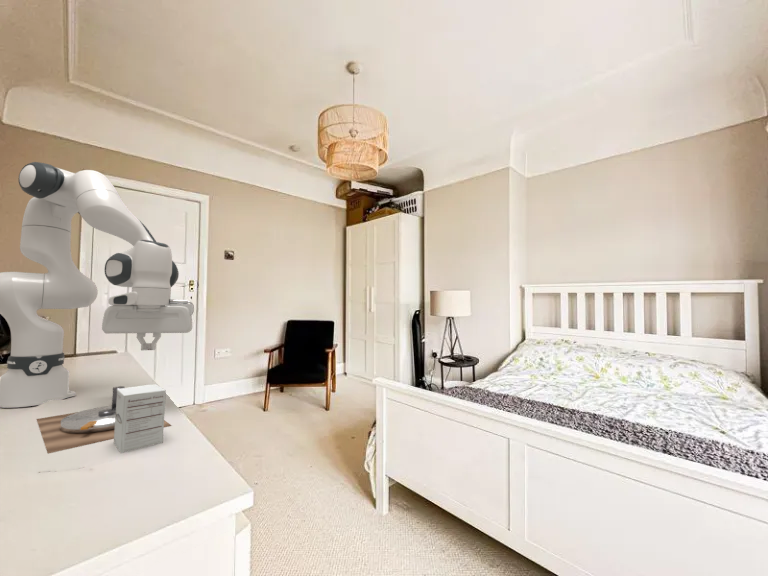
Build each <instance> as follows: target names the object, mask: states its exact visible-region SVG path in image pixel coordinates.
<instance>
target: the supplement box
mask: <svg viewBox="0 0 768 576" xmlns="http://www.w3.org/2000/svg"><path fill="white" fill-rule="evenodd" d="M166 393H167V391H166V389H165V388H163V387H162V386H160V385H158V384H156V383H154V384H153V383H152V384H145V385H138V386H137V385H136V386H129V387H125V388H121V389H117V401H116V416H115V430H114V439H113V444H114V446H115V447H116V449H117V450H118V452H119V453H120V454H122V453H126V452H132V451H135V450H139V449H142V448H143V449H144V448H148V447H152V446H156V445H159V444H163V443H164V429H165V427H164V420H165V414H166V413H165V411H166V410H165V409H166Z"/></svg>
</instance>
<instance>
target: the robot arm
mask: <svg viewBox="0 0 768 576" xmlns="http://www.w3.org/2000/svg"><path fill="white" fill-rule="evenodd" d="M18 184H19V187H20V189H21V190H22V191H23V192H24V193H26V194H27V195H30V196H31V197H32V198H30V199H29V200H28V202H27V205H26V206H25V209H24V213H23V218H22V222H21V223H22V224H21V231H20V243H19V244H20V245H19V250H20V253H21V254H22V256H24V257H25V258H26V259H29V261H32V262H35V263H37V264H39V265H42V266H43V267H44V268H46V270H47V272H45V273H43V272H42V273H41V272H39V273H38V272H26V271H25V272H22V271H4V272H3V271H2V272H0V315H1V316H2V317H3V318H4V319H5V321H6V322H7V325H8V327H9V330H10V342H11V344H10V347H11V348H10V355H9V356H8V357H7V361H6V364H7V366H6V368H7V369H8V370H6V372H4V373H3V374H2V375H1V376H0V408H3V409H4V408H5V409H7V408H8V409H10V408H25V407H31V406H32V407H33V406H40V405H42V404H44V403H47V402H50V401H59V400H60V401H61V400H65V399H67V398H71V397H75V396H76V395H77V394H76V391H74V390H70V370H68V369H67V368H66V367H64V361H65V352H63V351H64V350H63V349H64V348H63V347H64V337H65V330H64V328H63V327H62V326H61V325H60V324H58V323H57V322H54V321H51V320H50V319H46V318H43V317H40V316H39V315H38V311H39V310H73V309H80V308H81V309H82V308H87V307H90V306H91V305H92V304H94V302H95V301H96V299H97V297H98V291H99V290H98V286H97V285H96V283H95V282H94V281H93V279H91V278H89V277H88V276H87V275H85V274H83V272H81V271H80V269H79V268H78V267H77V266H76V264H75V262H74V260H73V257H72V249H71V247H72V245H71V243H72V242H71V241H72V220H73V218H74V217H75V215H76V214H77V213H78V214H79V215H80V217H81V218H82V219H83V221H85V223H86V224H88V225H89V226H90V227H92V228H93V229H96V230H98V231H101V232H103V233H106V234H109V235H112V236H115V237H117V238H119V239H122V240H124V241H126V242H128V243H129V244H131V246H132V247H131V248H130V249H127V250H125V251H123V252H116V253H114V254H112V255H111V256H110V257H109V258H108V259H107V260H106V261H105V263H104V275H105V277H106V280H107V281H108V282H109V283H110V284H111V285H113V286H117V287H122V288H131V292H126V293H121V294H118V295H113V296H111V297H108V299H107V300H108V303H107V304H109V305H110V306H108V307H107V308H106V309H105V311H104V314H103V319H102V325H101V330H102V332H103V333H105V334H106V335H107V334H136V340H137V341H138V342H139V343H140V350H141V351H156V348H157V347H156V346H157V343H158V342H159V340H160V339H161V337H162V334H188V333H190V332H191V331H193V315H194V310H195V306H194V304H193V302H192V301H189V300H188V299H171V293H172V287H173V286H175V284H176V282H178V279H179V276H180V275H179V274H180V273H179V269H178V267H177V264H176V263H175V261H174V260H173V255H172V249H171V247H170V246H169V245H168V244H166V243H163V242H158V241H156V239H155V238H154V236H153V234H152V233H151V232H150V230H149V229H148V228H147V226H146V225H145V224H144V223H143V222H142V221H141V220H140V219H138V218H137V217H136V215H134V213H132V211H131V210H130V209H129V208H128V207H127V205H126V204H125V203H124V201H123V199H122V197H121V196H120V194H119V192H118V191H117V189H116V187H115V186H114V185H113V183H112V182H111V180H109V178H108V177H107V176H106V175H104V174H103V173H102V172H99V171H97V170H93V169H84V170H79V171H76V172H71V171H69V170H66V169H63V168H59V167H55V166H54V165H52V164H49V163H46V162H45V163H44V162H39V161H32V162H30V163H27V164H25V165H24V166H23V167H22V168H21V170H20V172H19V174H18ZM147 334H152V338H154V339H153V340H152V342H147V341H146V340H145V337H146V335H147Z"/></svg>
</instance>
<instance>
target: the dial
mask: <svg viewBox="0 0 768 576" xmlns="http://www.w3.org/2000/svg"><path fill="white" fill-rule="evenodd" d="M121 388H126V387H125V386H121V385H120V386H114V387H113V388H112V397H111V398H112V399H111V405H108V406H107V405H106V406H99V407H95V408H89V409H86V410H85V409H84V410H82V411H76V412H77V413H75V412H73V413H74V414H71V415H69V416H67V417H65V418H63V419H62V420H61V426H60V429H61V430H62V431H64V432H68V433H90V432H99V431H105V430H111V429H115V416H116V401H117V389H121Z"/></svg>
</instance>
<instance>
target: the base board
mask: <svg viewBox="0 0 768 576" xmlns="http://www.w3.org/2000/svg"><path fill="white" fill-rule="evenodd" d="M77 412H78V411H76V412H72V413H71V412H70V413H65V414H64V413H63V414H59V415H52V416H47V417H41V418H36V422H37V425H38V428H39V429H38V430H39V431H40V434H41V438H42V440H43V443H44V447H45V449H46V453H47V454H52V453H56V452H61V451H66V450H70V449H75V448H79V447H83V446H89V445H92V444H96V443H102V442H106V441H109V440H114V430H115V429H111V430H105V431H99V432H90V433H68V432H64V431H62V430H61V429H60V426H61V420H62V419H63V418H65V417H67V416H69V415H71V414H74V413H77ZM172 426H173V425H172V424H171V423H169V422H167V421H166V420H165V419H164V428H167V427H168V428H169V427H172Z"/></svg>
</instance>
